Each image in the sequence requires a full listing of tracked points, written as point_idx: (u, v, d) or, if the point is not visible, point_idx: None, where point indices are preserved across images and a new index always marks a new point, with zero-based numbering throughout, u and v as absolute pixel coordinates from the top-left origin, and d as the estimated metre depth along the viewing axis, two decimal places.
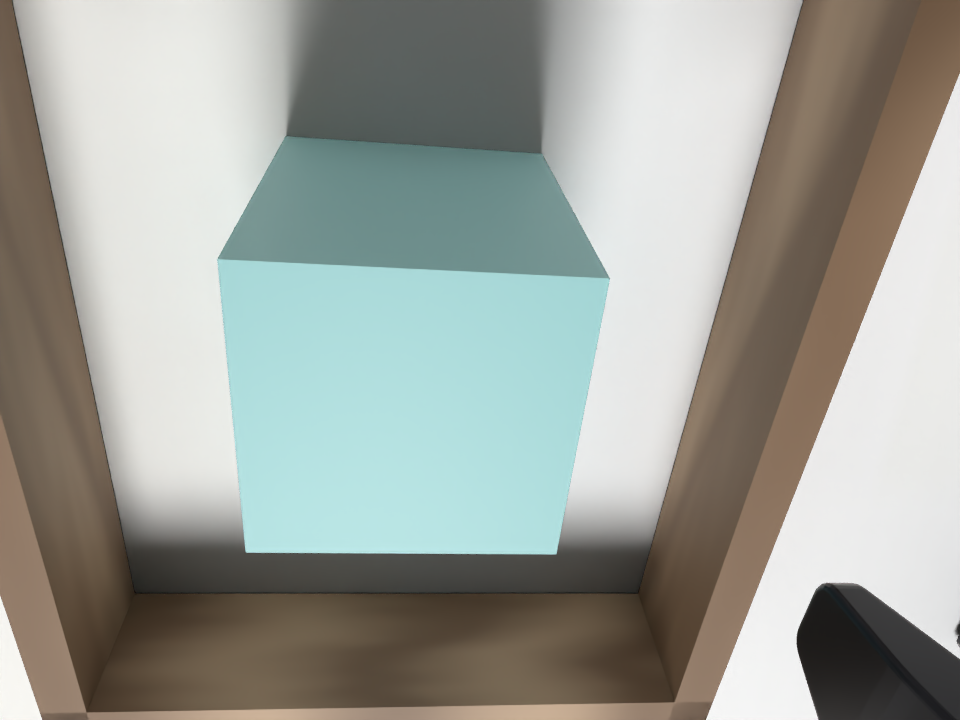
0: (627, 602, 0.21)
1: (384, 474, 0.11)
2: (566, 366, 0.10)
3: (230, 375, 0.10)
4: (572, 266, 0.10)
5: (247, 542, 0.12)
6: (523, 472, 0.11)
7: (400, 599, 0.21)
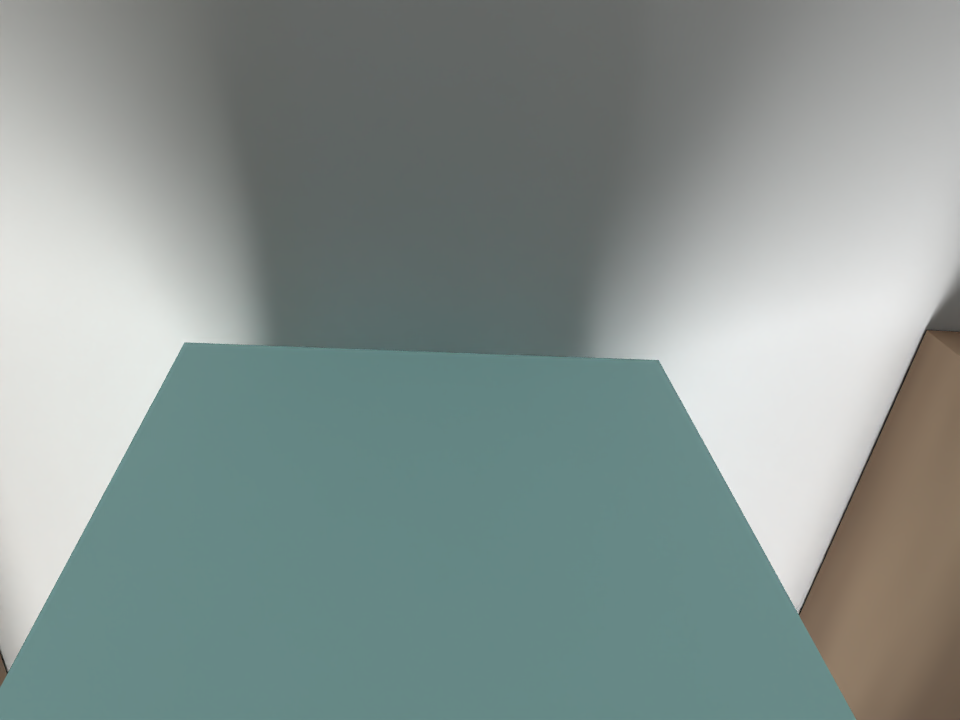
0: None
1: None
2: None
3: None
4: None
5: None
6: None
7: None
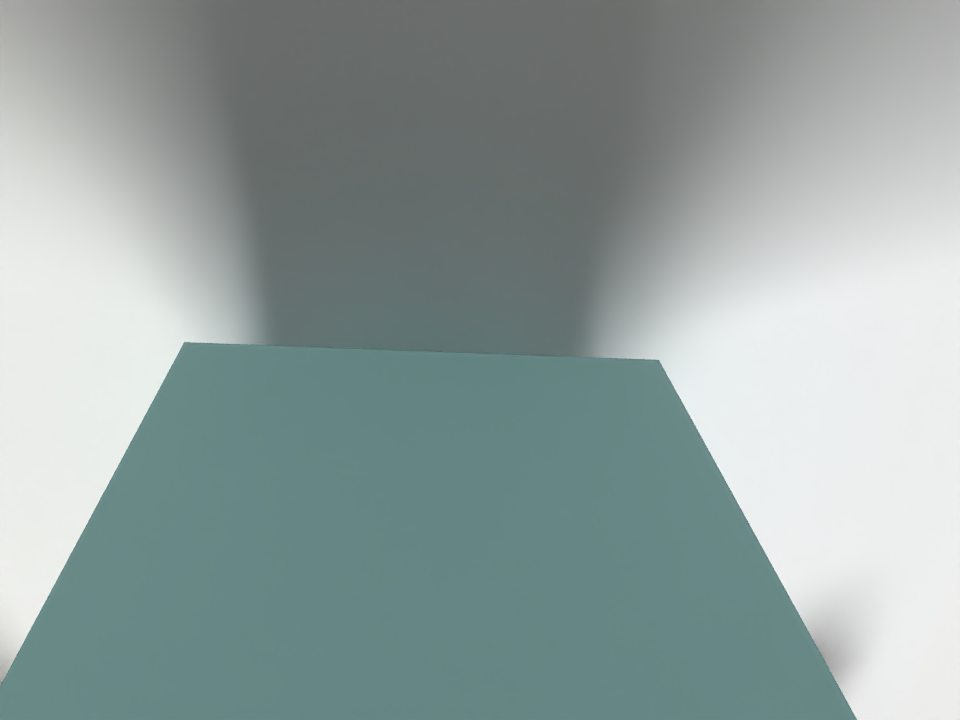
0: None
1: None
2: None
3: None
4: None
5: None
6: None
7: None
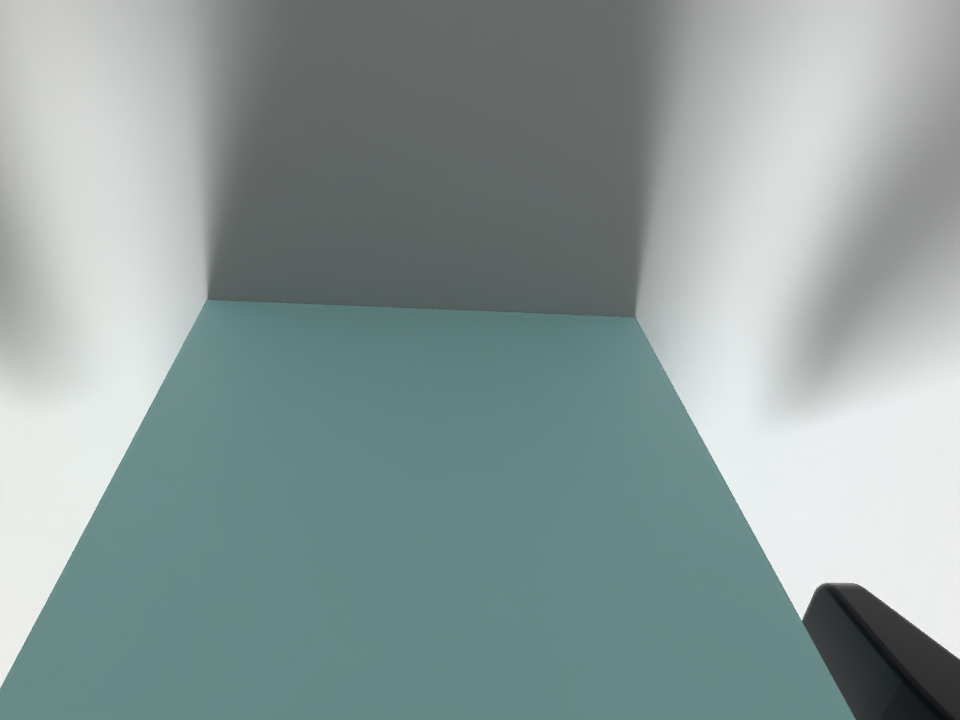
0: None
1: None
2: None
3: None
4: None
5: None
6: None
7: None
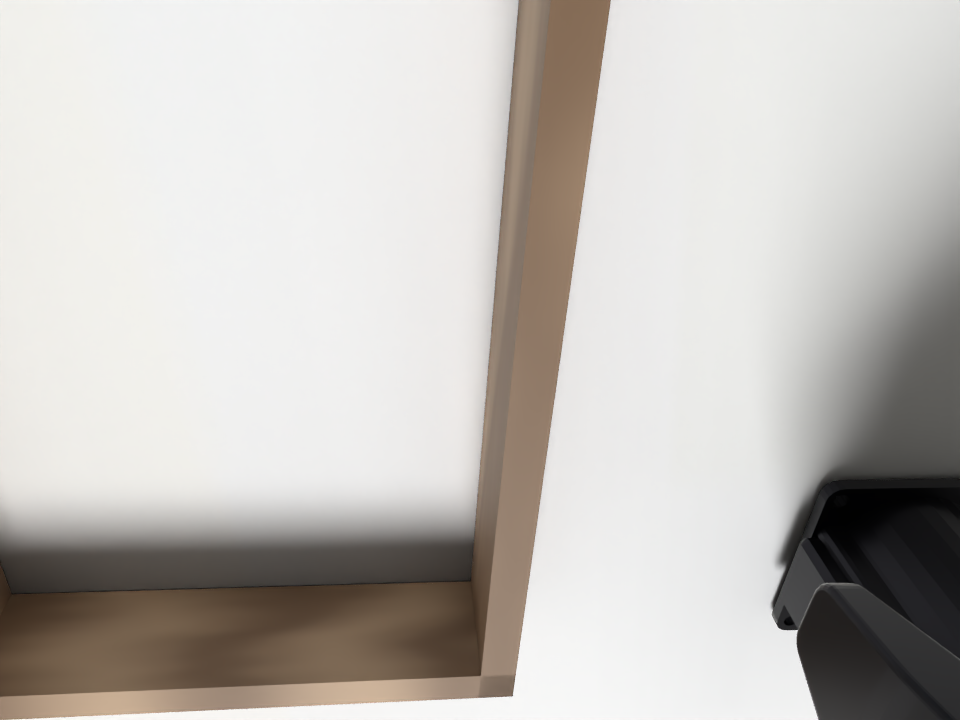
0: (459, 589, 0.24)
1: None
2: None
3: None
4: None
5: None
6: None
7: (252, 592, 0.23)
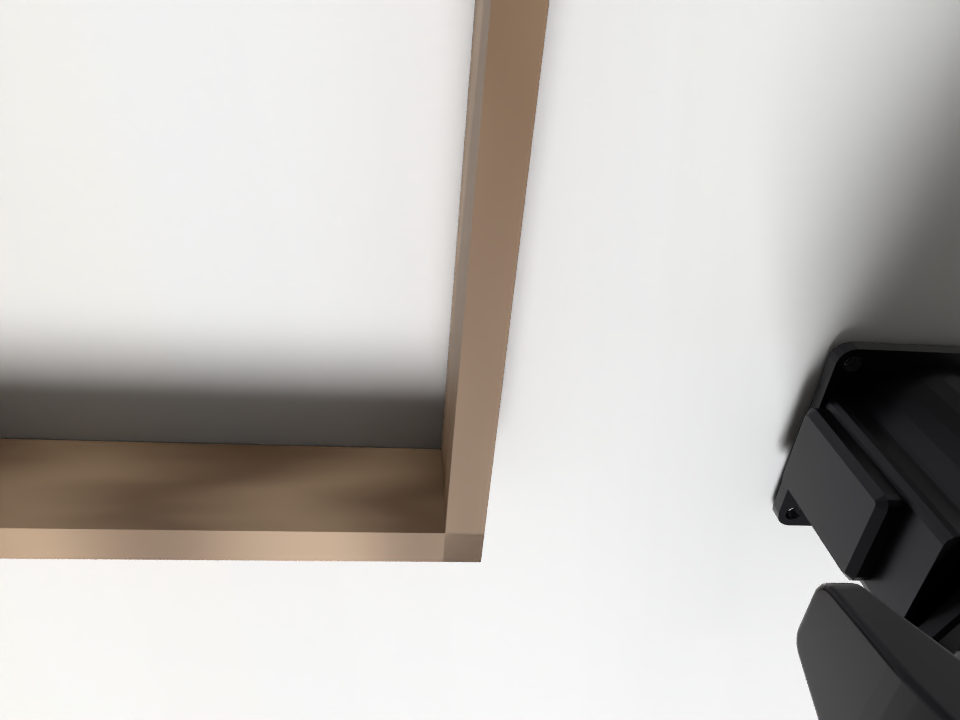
0: (427, 455, 0.22)
1: None
2: None
3: None
4: None
5: None
6: None
7: (197, 447, 0.21)
